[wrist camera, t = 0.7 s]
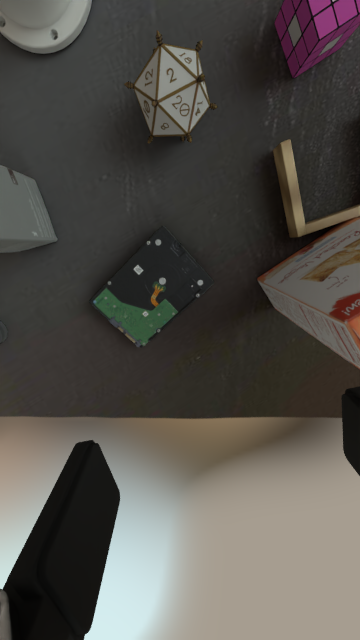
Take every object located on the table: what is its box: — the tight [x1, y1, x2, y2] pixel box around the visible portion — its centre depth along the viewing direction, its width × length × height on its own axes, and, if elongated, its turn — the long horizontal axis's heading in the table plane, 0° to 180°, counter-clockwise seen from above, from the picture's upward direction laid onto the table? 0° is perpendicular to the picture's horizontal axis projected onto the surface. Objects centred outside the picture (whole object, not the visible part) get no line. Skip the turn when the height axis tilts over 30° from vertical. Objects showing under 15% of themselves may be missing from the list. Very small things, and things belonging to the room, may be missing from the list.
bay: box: [273, 139, 360, 238], centre depth 30 cm, size 11×12×2 cm
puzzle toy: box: [275, 0, 360, 78], centre depth 24 cm, size 6×6×6 cm
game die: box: [124, 30, 217, 143], centre depth 26 cm, size 9×8×10 cm
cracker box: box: [257, 217, 360, 369], centre depth 25 cm, size 14×6×21 cm, turn 125°
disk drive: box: [89, 226, 214, 347], centre depth 35 cm, size 10×3×15 cm
